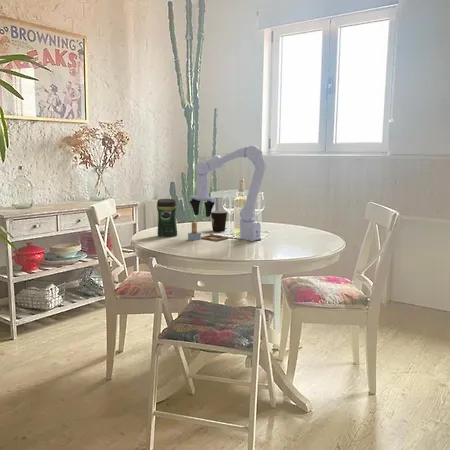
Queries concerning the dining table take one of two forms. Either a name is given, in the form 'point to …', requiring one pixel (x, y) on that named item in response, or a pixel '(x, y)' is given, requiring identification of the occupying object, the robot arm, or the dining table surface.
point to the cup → (194, 236)
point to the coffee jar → (167, 217)
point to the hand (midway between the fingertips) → (202, 215)
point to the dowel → (194, 227)
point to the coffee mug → (218, 220)
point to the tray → (214, 238)
